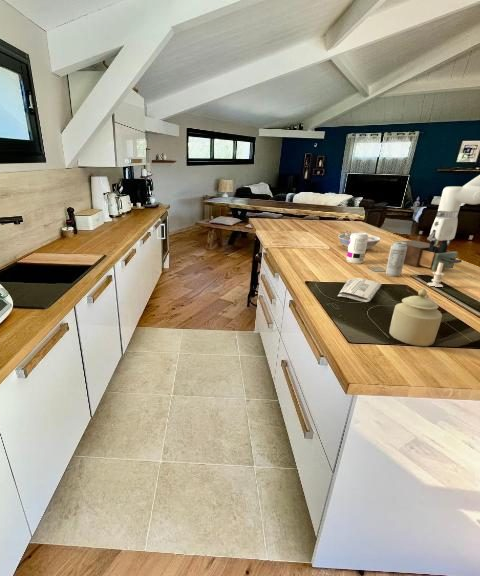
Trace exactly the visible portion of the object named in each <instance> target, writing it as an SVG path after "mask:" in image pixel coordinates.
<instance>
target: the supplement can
mask: <svg viewBox="0 0 480 576" xmlns="http://www.w3.org/2000/svg"><path fill="white" fill-rule="evenodd" d="M350 234H351V235H350V240H349V246H348V247H347V252H346V259H345V261H346V262H347V263H349V264H353V265H361V264H363V263H364V262H365V256H366V251H367V249H366V246H367V241H368V235H369V234H368V233H367V232H361V231H354V232H351V233H350Z"/></svg>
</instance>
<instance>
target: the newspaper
mask: <svg viewBox="0 0 480 576" xmlns="http://www.w3.org/2000/svg"><path fill="white" fill-rule="evenodd" d="M381 287H382V283H380V282H377V281H374V280H371V279H367V278H362V277H354V278H348V280H347V281H346V283H344V285H343V287H342V288H341V289H340V291H339V293H338V295H337V297H343V298H347V299H348V298H349V299H351V300H355V301H359V302H363V303H370V302H371V301H372V300H373V298H374V297H375V295H376V294H377V292H378V291H379V290H380V288H381Z"/></svg>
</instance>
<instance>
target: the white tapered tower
mask: <svg viewBox="0 0 480 576" xmlns="http://www.w3.org/2000/svg"><path fill="white" fill-rule="evenodd" d="M442 268H443V263H442V262H441V263H440V262H439V265H438V268H437V270H435V271H432V274H433V275H434V276H433V278H432V279H431V282H427V286H428V285H429V286H428V287H430V286H435V287H442V288H444V285H443V284H441V282H442V280H441V279H442V278H441V277H442V276H445V273H444V272H442V271H443V269H442ZM435 287H434V288H435Z"/></svg>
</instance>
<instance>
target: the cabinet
mask: <svg viewBox="0 0 480 576" xmlns="http://www.w3.org/2000/svg"><path fill="white" fill-rule="evenodd" d="M399 242H405V243H407V244H406V245H407V251H406V255H405V260H404V264H405V265H407V266H410V267H413V268H414V267H415V268H420V267H423V266H422V265H418V262H419V258H420V254H421V250H422V249H429V247H430V245H429V242H424V241H420V240H415V239H413V240H402V241H401V240H400V241H399ZM436 246H437V248H438V249H439V247H440V245H438V244H437V245H436ZM404 264H403V265H404Z"/></svg>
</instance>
